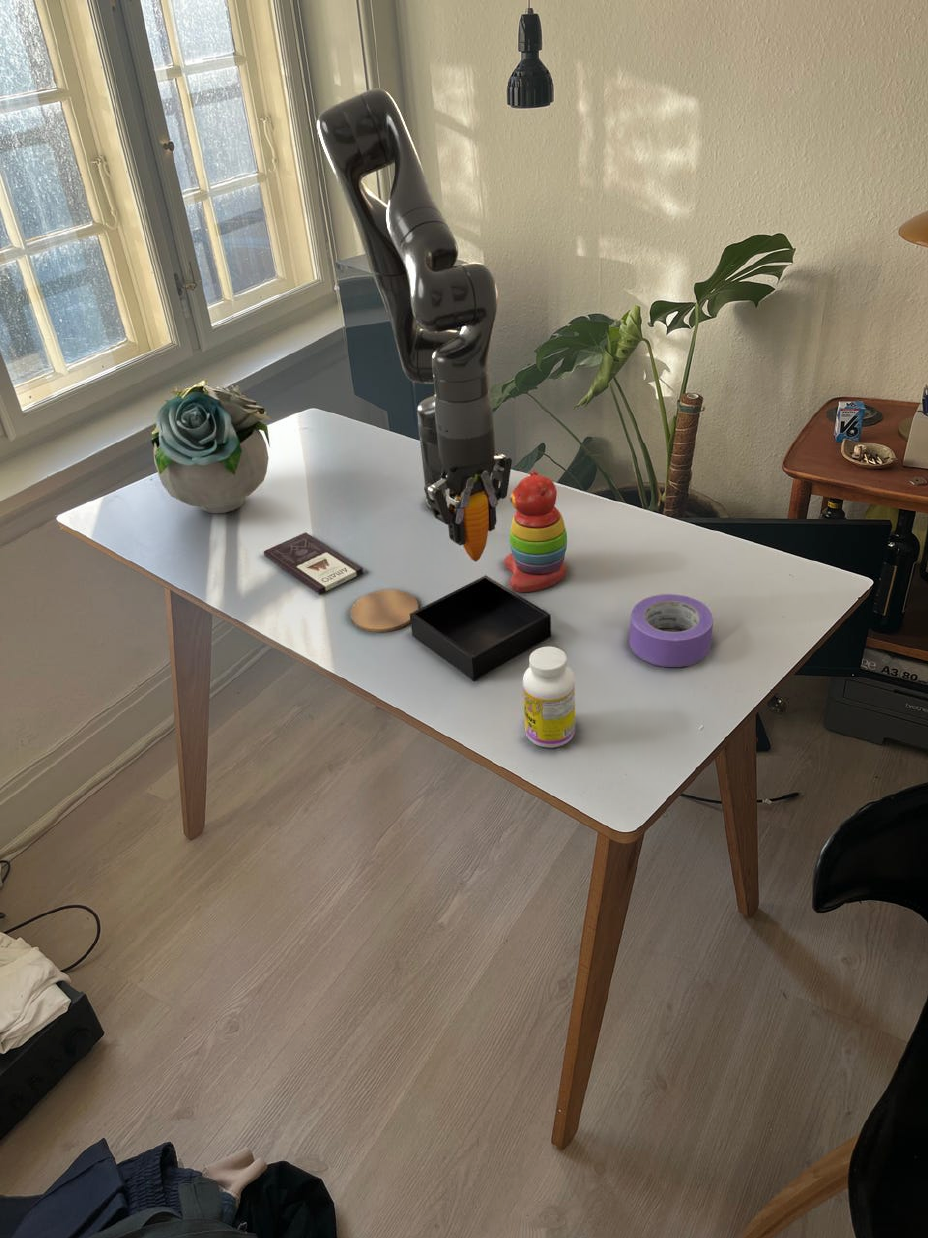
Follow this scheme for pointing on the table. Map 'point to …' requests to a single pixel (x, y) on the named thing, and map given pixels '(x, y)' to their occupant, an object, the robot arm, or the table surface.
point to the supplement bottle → (549, 698)
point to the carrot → (476, 524)
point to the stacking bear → (536, 536)
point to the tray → (480, 626)
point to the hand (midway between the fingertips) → (473, 535)
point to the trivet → (383, 610)
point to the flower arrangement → (211, 447)
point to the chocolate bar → (313, 562)
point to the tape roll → (671, 645)
